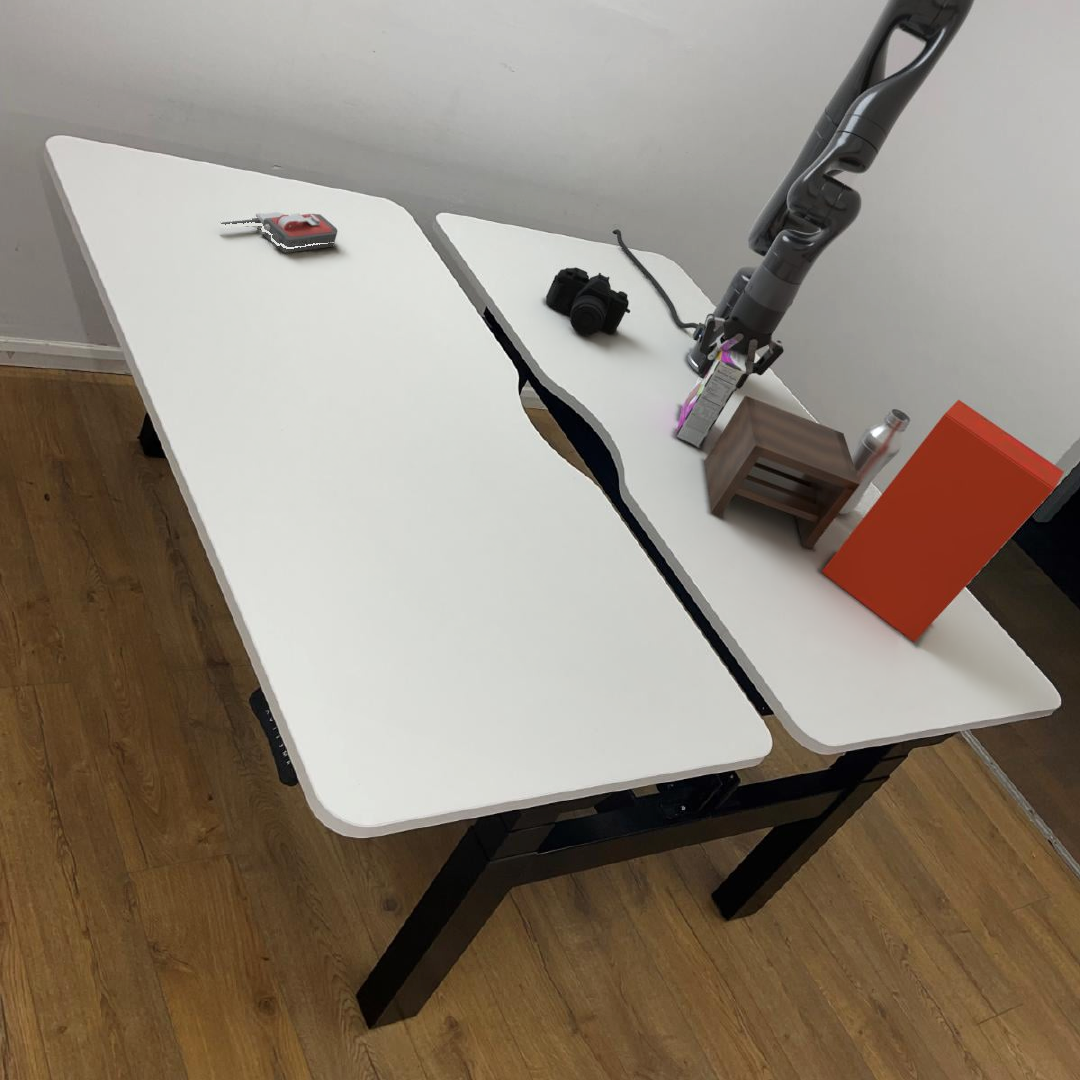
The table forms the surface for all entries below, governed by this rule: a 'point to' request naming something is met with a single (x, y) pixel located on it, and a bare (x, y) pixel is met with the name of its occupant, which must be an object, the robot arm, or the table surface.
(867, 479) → the silver metal bottle
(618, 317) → the film camera
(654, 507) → the table surface
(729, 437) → the shoe rack
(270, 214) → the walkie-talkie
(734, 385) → the candy bar box
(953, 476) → the file binder
